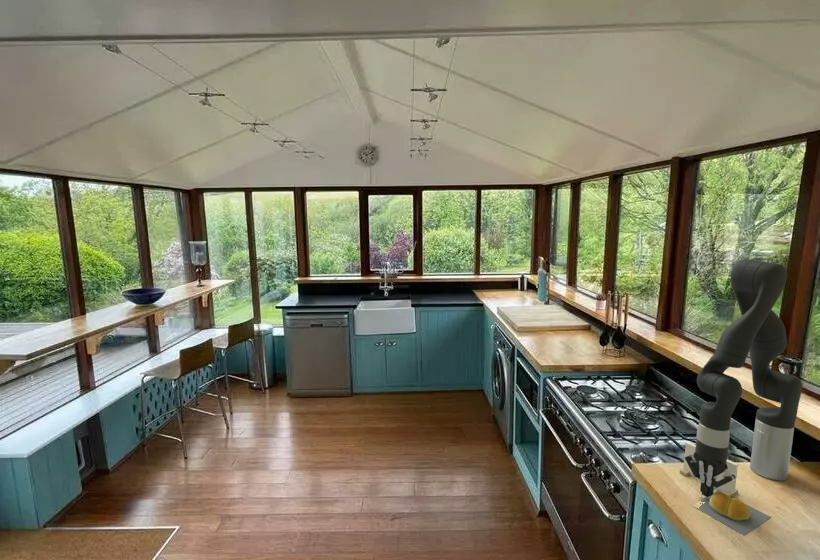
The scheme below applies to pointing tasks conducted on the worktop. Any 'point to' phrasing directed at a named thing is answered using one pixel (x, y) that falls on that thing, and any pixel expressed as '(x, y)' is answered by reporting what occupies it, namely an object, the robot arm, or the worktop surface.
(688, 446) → the screen
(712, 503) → the bread roll
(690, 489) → the worktop surface
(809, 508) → the worktop surface
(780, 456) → the robot arm
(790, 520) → the worktop surface
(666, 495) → the worktop surface
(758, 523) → the mat
